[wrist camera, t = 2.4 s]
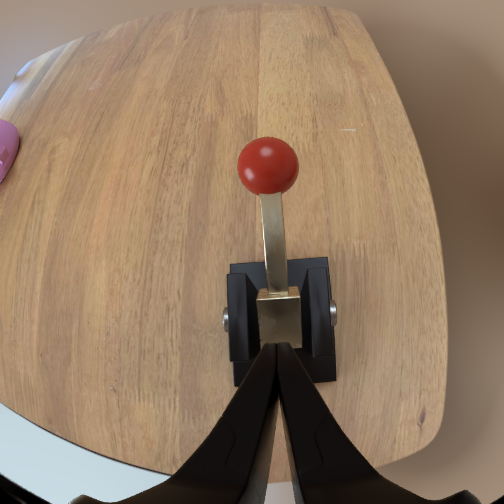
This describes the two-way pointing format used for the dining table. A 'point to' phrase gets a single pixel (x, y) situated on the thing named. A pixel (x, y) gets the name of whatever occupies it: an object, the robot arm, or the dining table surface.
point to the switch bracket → (312, 310)
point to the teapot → (7, 146)
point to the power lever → (273, 237)
